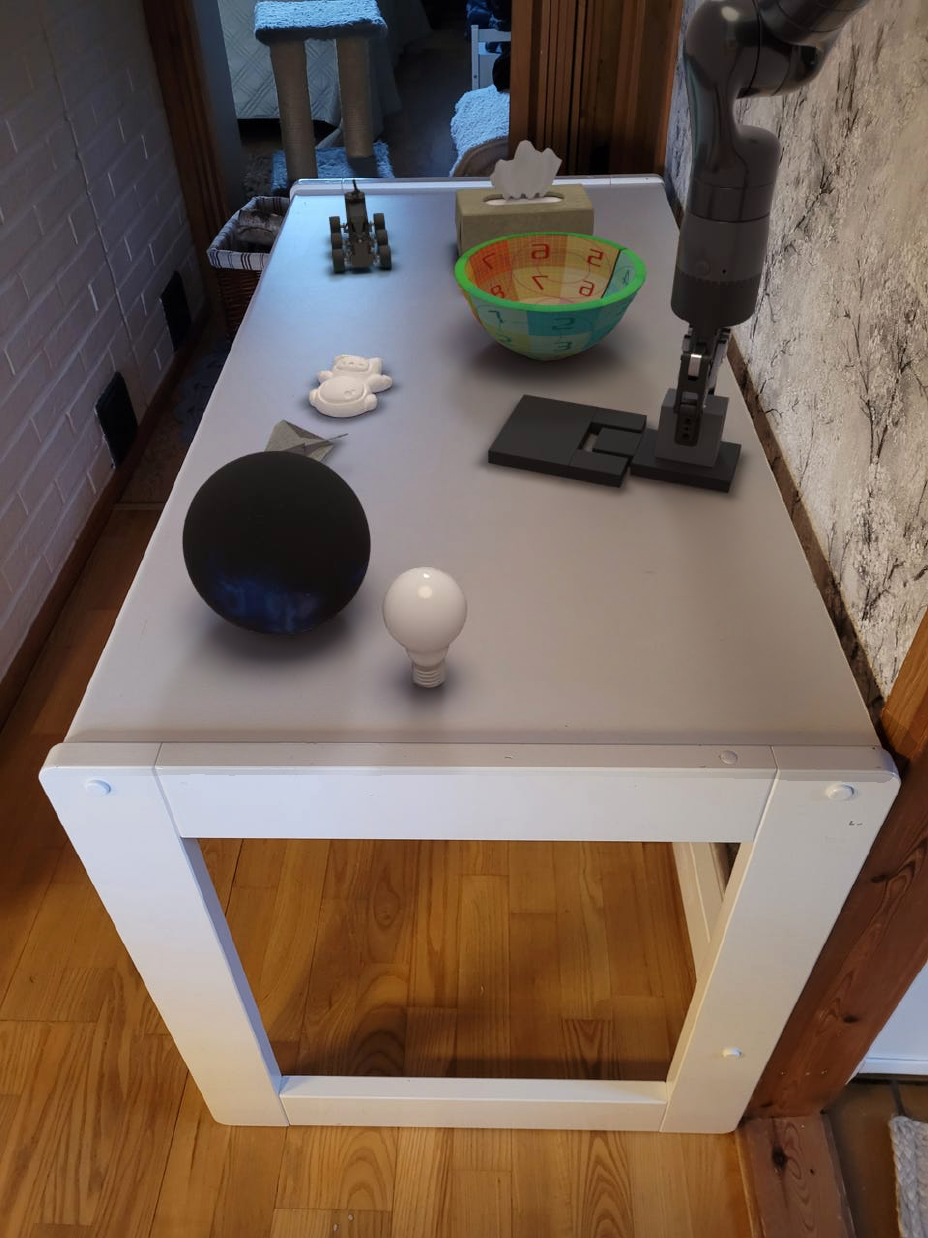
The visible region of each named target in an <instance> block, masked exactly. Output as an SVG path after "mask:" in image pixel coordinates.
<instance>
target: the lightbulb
mask: <svg viewBox="0 0 928 1238" xmlns="http://www.w3.org/2000/svg"><path fill="white" fill-rule="evenodd" d="M381 612H382V619H383V623H384V626H385V628H386V630H387V631H388V633H389V635H390V636H391V637H392V638H393V639H394V640H395V642H397V643H398V644H399V645H400V646H401V647H403V648H404V649H405V651H406V654H407V656H408V658H409V659H410V662H411V664H410V665H411V676H412V680H413V682H414V683H415V684H416V685H418V686H420V687H422V688H435V687H437V686H440V685H441V684H442V683H443V682H444V681H445V680H446V678H447V677H446V676H447V669H446V668H447V667H446V656H447V655H448V653H449V648H450V645H451V644H452V643H453V642H454V641H455V640H456V639H457V638H458V636H459V635H460V634H461V632H462V630H463V628H464V626H465V625H466V620H467V615H468V603H467V599H466V596H465V592H464V590H463V589H462V587H461V585H460V584H459V582H458V581H457V579H455V578H454V577H453V576H452V575H450V574H449V573H448V572H446V571H444V570H442V569H439V568H436V567H431V566H418V567H414V568H413V567H412V568H410V569H408V570H405V571H404V572H402V573H400V574H399V575H397V576H396V577H395V578H394V579H393V580H392V581H391V583H389V585H388V587H387V588H386V591H385V593H384V596H383V598H382V605H381Z"/></svg>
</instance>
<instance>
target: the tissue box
mask: <svg viewBox="0 0 928 1238" xmlns="http://www.w3.org/2000/svg"><path fill="white" fill-rule="evenodd" d="M562 162H563V159H561V158H559V157H557V155H556V154H555V152H554V151H553V150H552V149H551V148H550V147H547V148H546V149H544V150H543V151H538V150H537V149H535V147H534V145H533V143H532V142H531V141H529V140H527V139H525V140H522V141H519V144H518V145H517V148H516V150H515V153H514V157H513V159H510V160H505V159H501V158H500V159H499V160H498V161H496V162H495V166H494V171H493V172H492V173H491V174H490V176H489V179H490V180H489V181H490V183H491V186H492V187H487V188H486V187H485V188H483V187H482V188H466V189H465V188H464V189H456V191H455V205H454V206H455V207H454V209H455V210H454V224H455V228H456V246H457V251H458V256H459V259H460V258H461V257H462V255H463V254H464V253H466V252H467V251H469V250H470V249H472V248H474V247H476V246H477V245H479V244H482V243H484V242H487V241H490V240H493V239H497V238H500V237H504V236H509V235H515V234H522V233H533V232H565V233H575V234H583V235H588V236H594V227H595V225H594V223H595V222H594V221H595V207H594V205H593V203H592V201H591V199H590V197H589V195H588V192H587V191H586V188H585V187H584V185H583V184H582V182H581V183H561V184H553V183H554V180H555V179H556V176H557V173H558V171H559V169H560V167H561V164H562Z"/></svg>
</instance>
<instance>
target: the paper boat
mask: <svg viewBox="0 0 928 1238" xmlns="http://www.w3.org/2000/svg"><path fill="white" fill-rule="evenodd" d="M348 435H349V433H343V434H339V435H337V436H334V437H331V438H328V439H325V438H323V437H322V436H319V435H317V434H315V433H313V432H310V431H309V430H306V429H305V428H303V427H300V426H298V425H296V424H293V423H292V422H290V421H288V420H285V419H281V420H280V421H279V422H278V423H276V424H275V425H274V426H273V428H272V431H271V433H270V436H269V438H268V441H267V443H266V446H265V448H264V451H286V452H293V453H297V454H301V455H305V456H307V457H310V458H313V459H315V460H317V461H319V462H321V461H322V460H323V458H324V457H326V455H327V454H329V452H330V451H331V450H332V448H334V446H335V445H336V443H334V442H332V441H331V440H334V439H340V438H342V437H346V436H348ZM264 451H263V452H264Z"/></svg>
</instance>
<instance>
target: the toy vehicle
mask: <svg viewBox="0 0 928 1238" xmlns="http://www.w3.org/2000/svg"><path fill="white" fill-rule="evenodd" d="M351 182H352V185H353V190H352V191H347V192H345V193H343V198H344V206H345V216H346V217H345V218H346V223H345V222H342V224H341V217H340V215H334V216H328V221H329V230H330V245H331V259H332V265H333V271H334V273H341V272H345V271H346V265H347V266H350V265H351V267H352V269H353V268H364V267H365V268H366V267H374V266H375V265H374V263H375V264H378V260H379V266H380V267H379V268H380V269H389V268H392V267H393V264H392V262H393V261H392V252H391V245H390V244H389V236H388V235H389V234H388V229H386V221H385V220H386V219H385V213H384V212H374V213H372V219H373V222H372V221H371V220H369V217H368V215H369V214H368V210H367V201H366V195H365V194H366V193H365V192H364V191H361V190H360V189H359V188H358V186H357V183H356V178H354V179H352V180H351ZM342 229H343V233H342ZM373 229H374V230H373ZM373 231H374V235H375V236H374V235H372V236H371V234H372V233H373ZM344 233H346V234H344ZM344 235H348V237H344V241H343V236H344ZM375 238H376V239H375ZM375 248H377V250H373V249H375ZM344 249H345V251H350V252H346V253H344ZM345 256H346V257H345Z"/></svg>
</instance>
